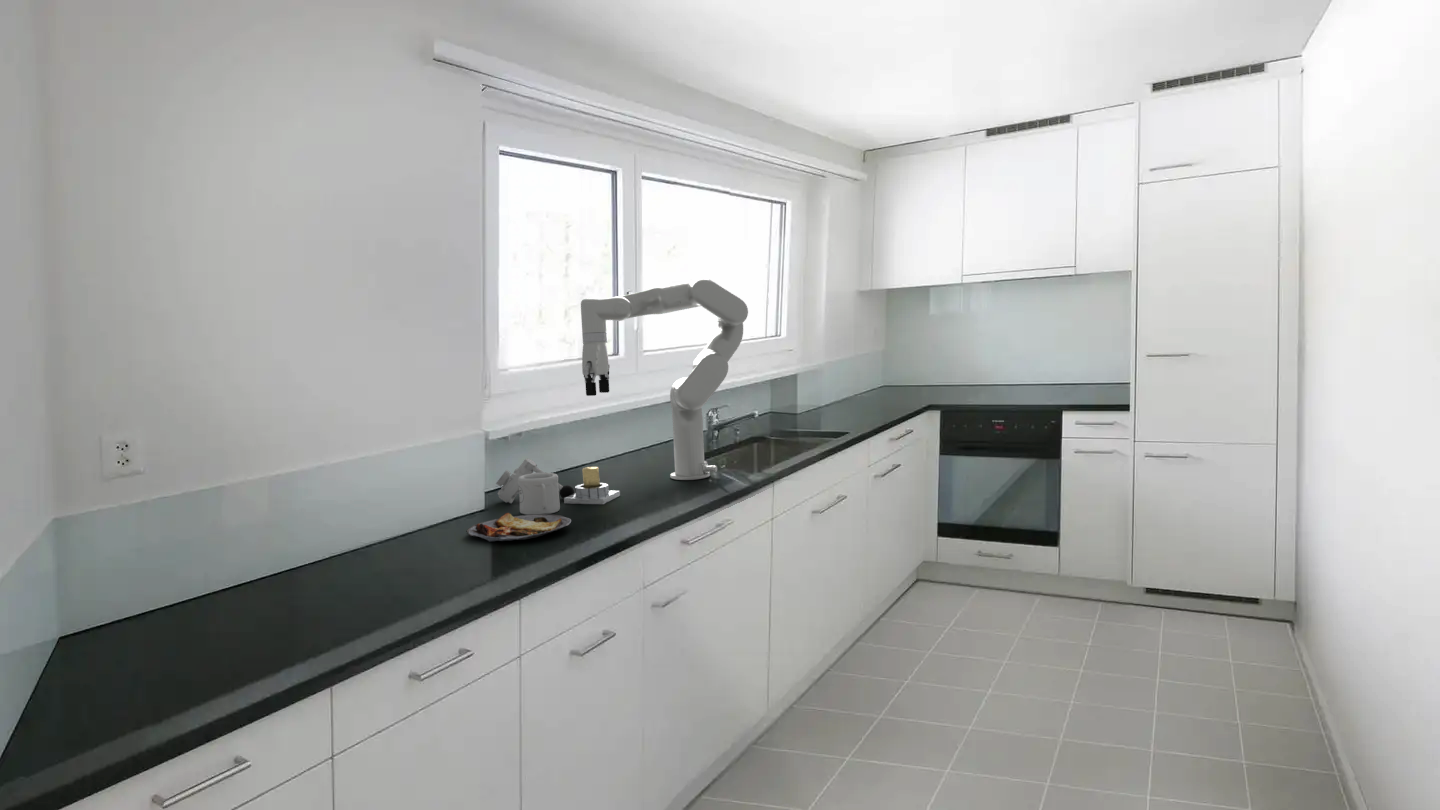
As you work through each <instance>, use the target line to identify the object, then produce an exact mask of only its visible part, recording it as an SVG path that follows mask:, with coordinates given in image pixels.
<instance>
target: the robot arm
mask: <svg viewBox="0 0 1440 810" xmlns="http://www.w3.org/2000/svg"><path fill="white" fill-rule="evenodd" d="M698 307H702V308H704V309H706V311H708V312H710V314H712V315H715V318H716V321H717V328H716V331H715V333H714V335H712V338H711V339H710V340H709V342H708V343H707V344H706V345H705V347H704V348H703V349H702V350H701V351H700V352H699V354H698V355H697V356H696V358H695V359H693V364H692V371H691V372H690V373H689V375H688V376H687V377H681V378H679V379H677V380H675V382H673V384H672V385H671V389H670V394H669V396H670V397H669V399H670V407H671V415H672V416H671V417H672V418H671V419H672V433H673V434H672V436H673V457H674V458H673V459H674V460H673V461H674V472H671V473H670V474H669V476H670V479H672V480H679V481H694V480H702V479H706V478H709V477H710V476H711V473H717V472H718V466H717V465H709V464H708V461H705V445H704V419H703V410H702V407H703V406H704V405H705V404H706V403H707V402H708V401H709V399H710V398H711V397H712V396H713V394H714V393H715V392H716V391H717V389H718V388H719V387H720V386H721V384H722V383H723V382H724V381H725V379H726V377H727V375H728V374H729V373H728V372H729V363H728V362H729V360H730V359H732V357H733V356H734V354H735V352H736V351H737V350H738V349H739V347H740V345H741V343H742V341H743V337H744V322H745V321H746V320H747V318H748V316H749V308H748V305H747V304H746V302H745V301H744V300H743V299H741V298H740V297H738V296H737V295H735V294H734V293H732V292H730V291H729V290H727V289H725V288H724V287H722V286H721V285H719V284H718V283H716V282H715V281H713V280H711V279H709V278H703V277H701V278H696V279H691V280H685V281H682V282H681V281H680V282H676V283H675V282H674V283H669V284H666V285H660V286H656V287H652V288H650V289H649V288H648V289H647V290H646V289H645V290H641V291H638V292H634V293H633V292H632V293H630V294H629V293H628V294H625V295H619V296H613V297H607V298H601V297H592V298H590V297H589V298H583V299H581V301H580V314H581V317H580V318H581V330H582V331H581V332H582V333H581V334H582V352H581V353H582V354H581V355H582V356H581V360H582V363H581V367H582V375H583V378H584V384H585V396H587V397H590V396H592V397H593V396H597V383H596V382H595V381H596V377H598V378H599V379H598V392H599V393H602V394H603V393H604V394H605V393H610V364H609V354H608V347H607V343H608V330H607V327H608V326H607V321H614V322H623V321H625V320H627V319H632V318H638V317H643V316H649V315H663V314H668V313H673V312H679V311H684V310H687V309H688V310H689V309H693V308H698Z"/></svg>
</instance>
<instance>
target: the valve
mask: <svg viewBox="0 0 1440 810" xmlns="http://www.w3.org/2000/svg"><path fill="white" fill-rule="evenodd" d="M537 466H538V465H537V463H536V462H535V461H533V459H531V458H528V457H526V458H525V459H523V461H522V462H521V464H520V465H519V466H518V467H517V468H516V469H514V471H513V473H511V472H512V471H509V470H508V469H506V470H505V471H504V472H503V473H502V474H501V476H500V478H499V479H498V480H497V481H496V483H495V484H496V485H497V486H498V487H500V488H501V489H499V490H498V492H497V495H498V498H499V499H500V500H502V501H503V502H505V503H506V504H507V503H509V504H512V503H513V502H514V501H515V498H516V497H517V496H519V484H518V478H519V477H520V476H522V475H526V474H532V473H545V472H544V471H543V470H541V469H540V468H539V467H537ZM558 490H559V497H561V499H563V500H564V498H566V497H568V496H570V495H572V494H574V493H575V488H573V487H572V486H570V485H568V484H567V485H562V484H561V483H559V482H558Z"/></svg>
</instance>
